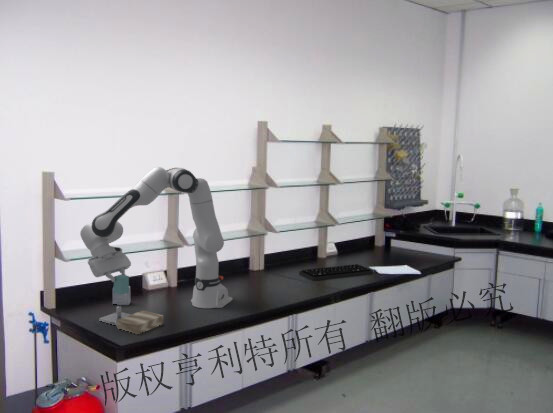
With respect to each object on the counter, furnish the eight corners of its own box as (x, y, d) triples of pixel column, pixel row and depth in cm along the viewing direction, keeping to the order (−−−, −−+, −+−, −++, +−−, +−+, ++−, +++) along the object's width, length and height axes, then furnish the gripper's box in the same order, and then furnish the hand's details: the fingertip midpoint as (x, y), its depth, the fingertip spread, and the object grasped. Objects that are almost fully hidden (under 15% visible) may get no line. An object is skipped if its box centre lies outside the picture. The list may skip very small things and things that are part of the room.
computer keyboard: (312, 282, 331) (313, 275, 331) (299, 275, 345) (299, 269, 344) (372, 275, 353) (373, 269, 352) (357, 269, 367) (357, 263, 366)
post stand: (118, 314, 260) (118, 300, 259) (138, 319, 254) (138, 305, 253) (99, 321, 249) (99, 307, 248) (118, 327, 244) (118, 312, 243)
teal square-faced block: (121, 290, 252) (121, 274, 251) (128, 292, 250) (128, 276, 249) (113, 292, 248) (113, 276, 247) (121, 294, 246) (121, 278, 245)
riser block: (142, 318, 255) (142, 310, 255) (163, 324, 250) (163, 315, 249) (117, 328, 241) (117, 320, 241) (138, 334, 236) (138, 325, 235)
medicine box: (130, 302, 277) (130, 285, 276) (128, 305, 273) (128, 288, 272) (114, 302, 277) (114, 285, 276) (112, 305, 273) (112, 288, 271)
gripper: (89, 255, 242) (105, 280, 239) (123, 247, 260) (139, 270, 256) (82, 263, 245) (98, 288, 241) (116, 255, 262) (132, 278, 259)
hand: (119, 279), depth 249 cm, fingers closed on teal square-faced block, 5 cm apart
